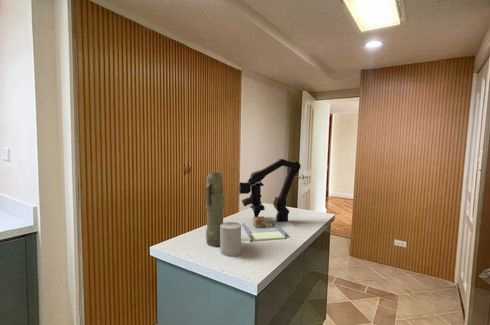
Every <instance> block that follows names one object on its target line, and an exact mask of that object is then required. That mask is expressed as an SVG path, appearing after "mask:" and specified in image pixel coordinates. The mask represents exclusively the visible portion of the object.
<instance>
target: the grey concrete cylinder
mask: <svg viewBox="0 0 490 325" xmlns="http://www.w3.org/2000/svg"><path fill="white" fill-rule="evenodd" d="M219 247H220V248H219V249H220V251H219V253H220V254H221V255H223V256H225V257H235V256H239V255H240V254H242V223H239V222H235V221H234V222H233V221H229V222H223V224H221V225H220V246H219Z"/></svg>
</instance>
